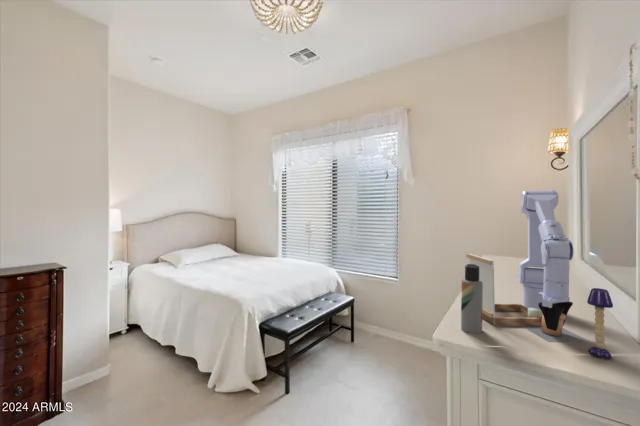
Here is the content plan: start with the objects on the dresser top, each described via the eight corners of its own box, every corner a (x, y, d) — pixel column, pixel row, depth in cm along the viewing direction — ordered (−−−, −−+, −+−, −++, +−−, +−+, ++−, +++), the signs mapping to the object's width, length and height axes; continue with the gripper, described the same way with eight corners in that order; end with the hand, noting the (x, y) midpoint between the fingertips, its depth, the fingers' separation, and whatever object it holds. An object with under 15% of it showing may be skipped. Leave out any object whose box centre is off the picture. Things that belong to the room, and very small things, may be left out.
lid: (469, 253, 102) (466, 253, 102) (493, 260, 88) (489, 260, 88) (470, 302, 102) (467, 303, 102) (494, 317, 88) (490, 317, 88)
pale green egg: (535, 319, 93) (535, 307, 93) (544, 324, 90) (544, 311, 90) (524, 319, 93) (525, 307, 93) (533, 324, 90) (533, 311, 89)
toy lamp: (581, 350, 74) (582, 286, 73) (597, 349, 74) (598, 286, 74) (601, 360, 69) (602, 292, 69) (618, 359, 69) (619, 291, 69)
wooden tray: (520, 311, 102) (520, 303, 102) (551, 326, 88) (552, 318, 88) (470, 310, 102) (470, 303, 102) (494, 326, 88) (494, 318, 88)
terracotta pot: (543, 326, 87) (545, 307, 86) (565, 334, 82) (568, 314, 82) (536, 330, 84) (539, 310, 83) (559, 338, 79) (562, 318, 79)
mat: (560, 328, 87) (560, 327, 87) (592, 343, 77) (592, 342, 77) (522, 328, 87) (522, 326, 87) (548, 343, 77) (548, 341, 77)
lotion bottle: (479, 328, 87) (480, 263, 87) (484, 335, 82) (485, 267, 82) (459, 325, 89) (460, 262, 89) (462, 332, 84) (463, 265, 83)
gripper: (548, 275, 90) (547, 317, 90) (529, 281, 81) (529, 328, 81) (577, 279, 84) (576, 325, 84) (560, 286, 76) (560, 337, 76)
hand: (555, 327), depth 82 cm, fingers closed on terracotta pot, 5 cm apart
